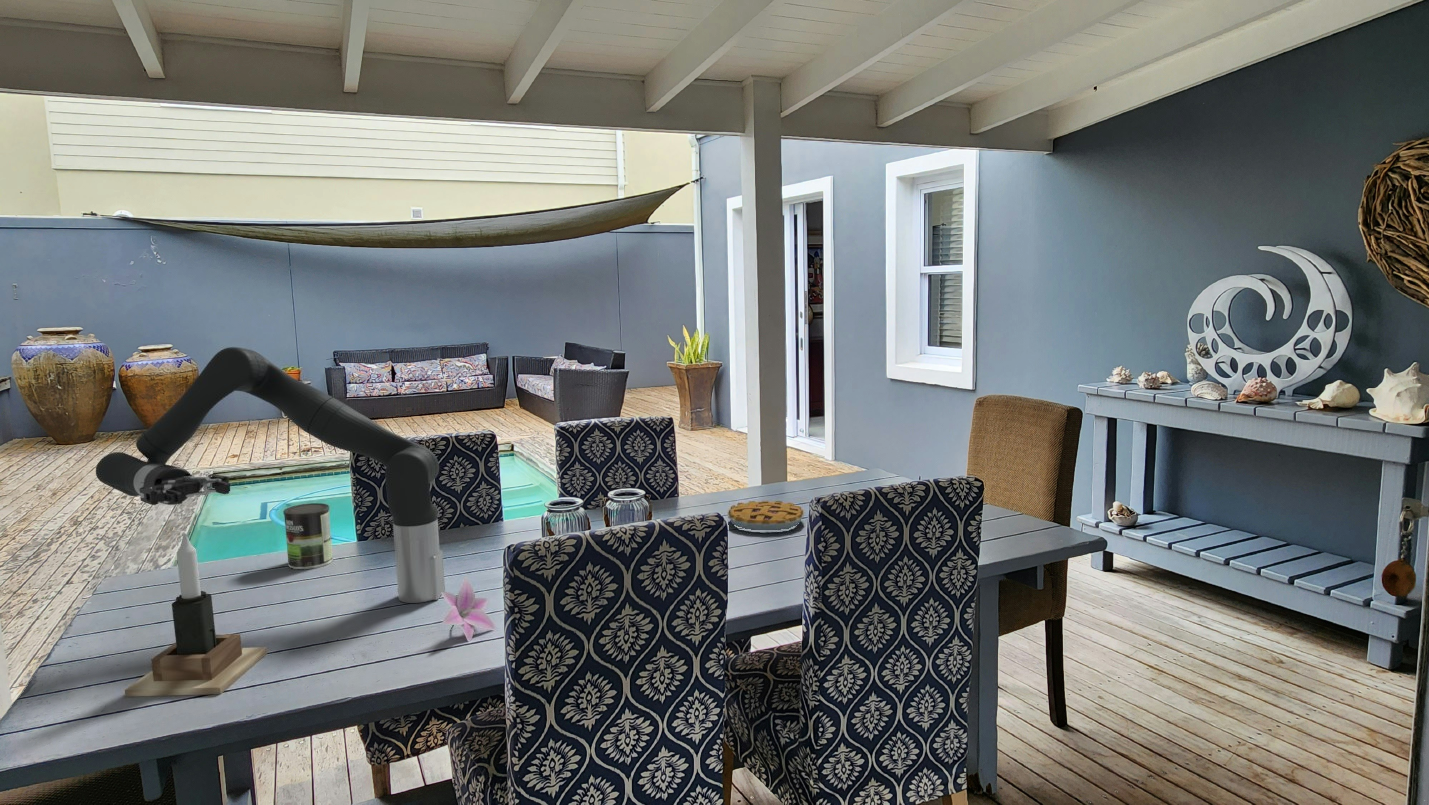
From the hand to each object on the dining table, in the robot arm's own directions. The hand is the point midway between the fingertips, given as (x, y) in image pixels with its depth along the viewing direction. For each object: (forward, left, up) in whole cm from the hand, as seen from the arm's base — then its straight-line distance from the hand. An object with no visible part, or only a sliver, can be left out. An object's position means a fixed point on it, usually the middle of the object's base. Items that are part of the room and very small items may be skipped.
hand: (204, 493), depth 161 cm
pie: (-112, -73, -30) cm, 138 cm away
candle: (-3, +13, -29) cm, 32 cm away
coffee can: (+4, -48, -30) cm, 57 cm away
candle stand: (-3, +13, -30) cm, 33 cm away
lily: (-47, -2, -30) cm, 56 cm away
